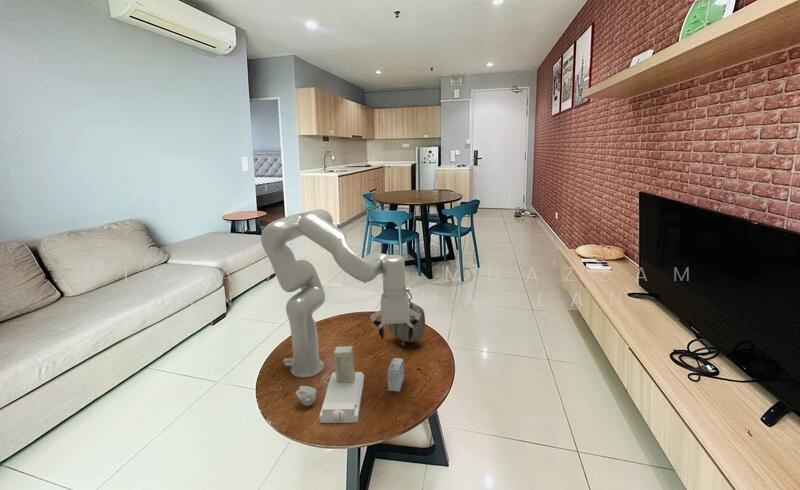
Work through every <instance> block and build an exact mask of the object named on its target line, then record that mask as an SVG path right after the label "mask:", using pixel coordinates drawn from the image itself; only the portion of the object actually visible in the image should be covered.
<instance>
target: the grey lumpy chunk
mask: <svg viewBox="0 0 800 490" xmlns="http://www.w3.org/2000/svg"><path fill="white" fill-rule="evenodd" d="M317 393H318V390H317V389H316V388H315V387H312V386H309V385H308V386H307V385H304V384H303V385H300V386H299V388H298V389H297V390H296V391H295V395H296V398H297V399H299V401H300V402H301V404H302V405H303V406H306V407H310V406H311V405H313V404H314V403H315V401H316V399H317Z"/></svg>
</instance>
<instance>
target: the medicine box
mask: <svg viewBox="0 0 800 490" xmlns="http://www.w3.org/2000/svg"><path fill="white" fill-rule="evenodd" d="M404 360H405V359H403V358H398V357H392V359H391V361H390V363H389V365H388V368H387V389H388V391H390V392H398V393H400V392H401V390H402V387H403V384H404V380H405V363H404V362H405V361H404Z"/></svg>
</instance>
